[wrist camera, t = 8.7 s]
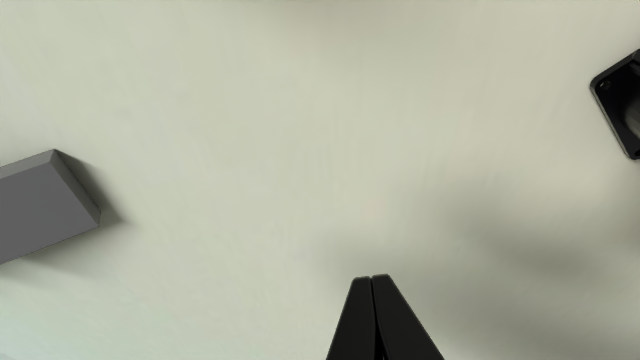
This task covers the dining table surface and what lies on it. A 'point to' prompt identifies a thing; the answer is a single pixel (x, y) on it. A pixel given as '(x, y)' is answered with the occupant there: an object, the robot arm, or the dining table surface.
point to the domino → (41, 205)
